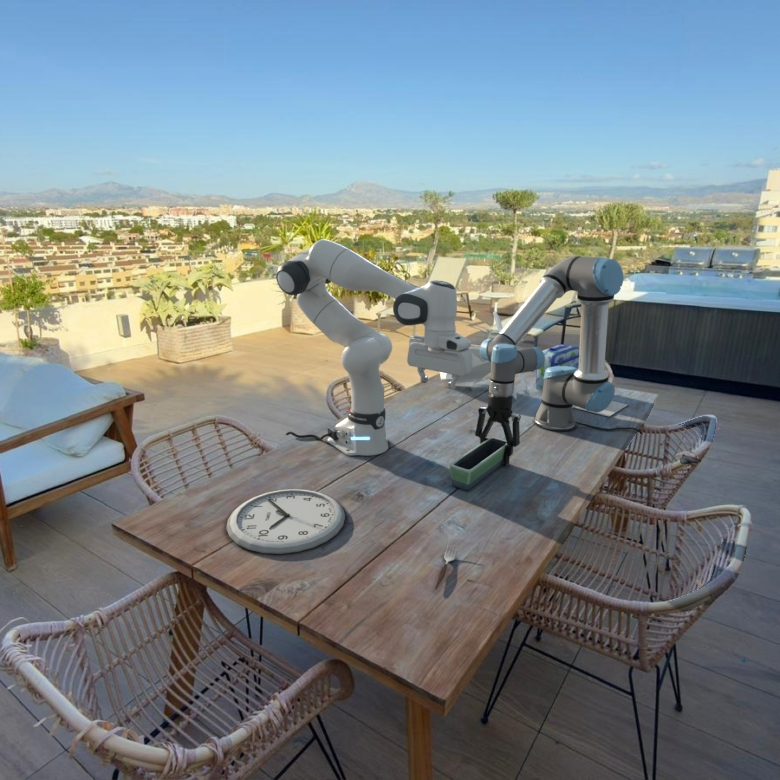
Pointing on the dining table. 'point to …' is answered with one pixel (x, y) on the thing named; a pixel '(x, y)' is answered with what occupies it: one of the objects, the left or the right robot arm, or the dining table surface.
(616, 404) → the invitation card
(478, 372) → the white plastic object
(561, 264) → the right robot arm
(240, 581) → the dining table surface
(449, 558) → the fork
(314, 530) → the wall clock
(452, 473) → the planter
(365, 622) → the dining table surface
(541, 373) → the lunch box
